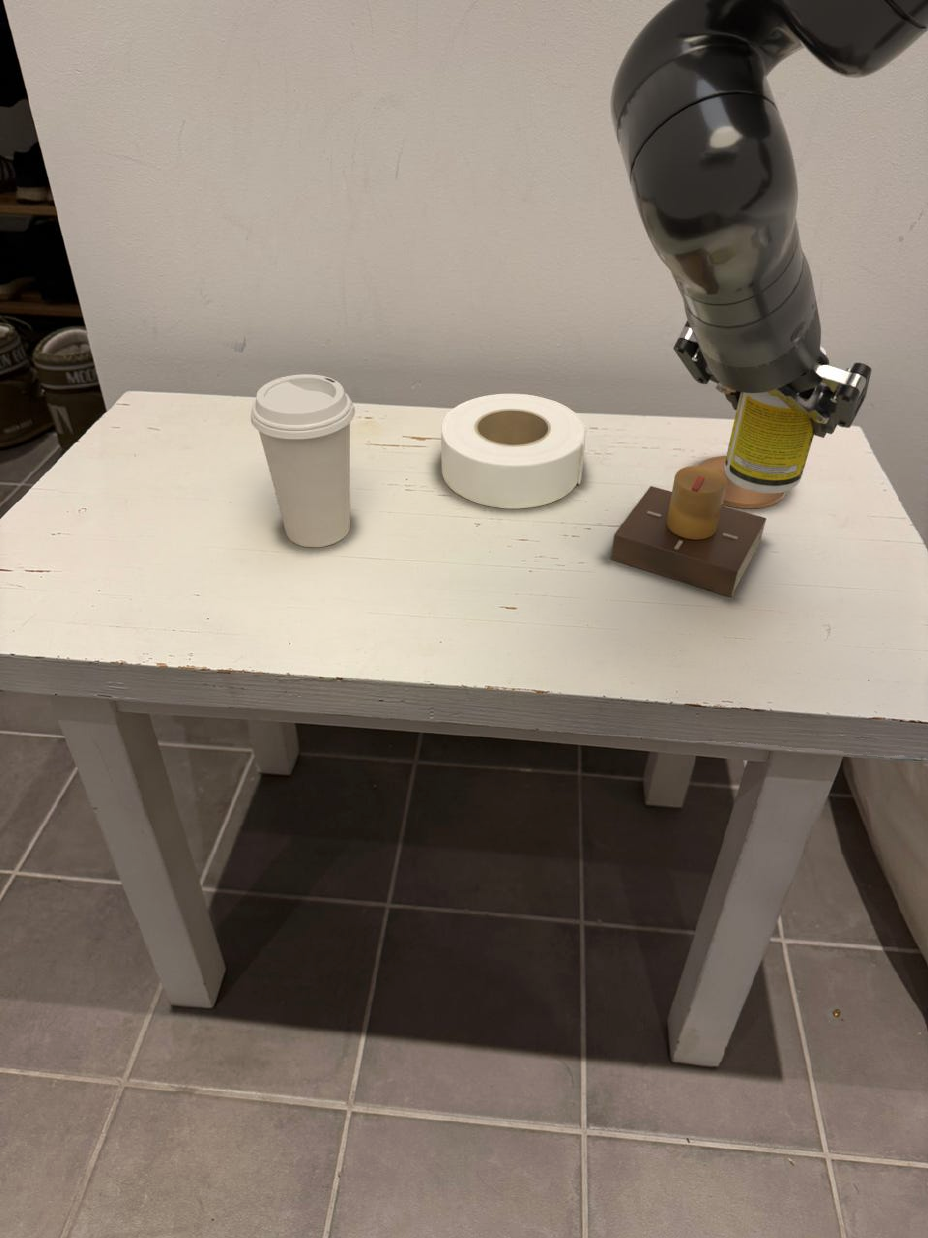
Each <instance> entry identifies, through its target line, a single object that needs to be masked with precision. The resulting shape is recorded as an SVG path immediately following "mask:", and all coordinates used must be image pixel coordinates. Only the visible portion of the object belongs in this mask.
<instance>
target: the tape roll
mask: <svg viewBox="0 0 928 1238" xmlns="http://www.w3.org/2000/svg"><path fill="white" fill-rule="evenodd" d="M440 426H441V427H440V447H441V449H440V450H441V454H440V455H441V458H440V459H441V475H442V477H443V480H444V482H445V483H446V485H447V486H448V487H449V488H450V489H451V490H452V491H453V492H454V493H455V494H457V495H459V496H461V497H462V498H464V499H466V500H468V501H470V502H473V503H476V504H479V505H483V506H486V507H491V508H492V507H493V508H499V509H515V510H516V509H529V508H530V509H531V508H536V507H541V506H546V505H548V504H551V503H554V502H557V501H559V500H560V499H562V498H564V497H566V496H567V495H568V494H570V493H571V492H572V491H573V490H574V488H576V486H577V485H581V482H582V477H583V476H582V475H583V469H584V467H583V466H584V457H585V449H586V448H585V447H586V426H585V424H584V423H583V421H582V419H581V418H580V416H579V414H578V413H576V412H575V411H573V410H572V409H571V408H569V407H568V406H566V405H564V404H562V403H559V402H558V401H555V400H552V399H549V398H546V397H542V396H537V395H533V394H525V393H524V394H523V393H498V394H497V393H495V394H488V395H483V396H479V397H478V396H477V397H475V398H472V399H469V400H466V401H463V402H462V403H460V404H458V405H456V406H455V407H453V408H452V409H450V410H449V411H448V412H447V413H446V414H445V416H444V418H443V420H442V421H441V425H440Z"/></svg>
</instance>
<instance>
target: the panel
mask: <svg viewBox="0 0 928 1238" xmlns="http://www.w3.org/2000/svg"><path fill="white" fill-rule="evenodd" d="M671 494H672V490H671V491H670V490H668V489H664V488H660V487H656V486H653V485H650V486H649V487H648V489H647V490H646V492H644V494H643V495H642V496H641V498H640V499H639V501H638V502H637V503H636V505H635V506H634V507H633V509H632V510H631V511H630V512H629V514H628V515H627V516H626V518H625V519H624V521H623V522H621V525H620V526H619V527H618V528H617V529H616V530H615V531H616V532H614V534H613V540H612V548H611V554H610V555H611V556H610V560H613V561H617V562H618V563H622V564H624V565H629V566H632V567H634V568H638V569H641V570H644V571H648V572H650V573H654V574H657V575H659V576H662V577H663V576H664V577H666V578H668V579H669V578H670V579H672V580H675V581H679V582H682V583H685V584H688V585H691V586H695V587H698V588H701V589H704V590H707V591H711V592H714V593H718V594H720V595H723V596H726V597H729V598H731V597H732V596H733V594H734V593H735V591H736V589H737V587H738V585H739V584H740V581H741V579H742V577H743V575H744V574H745V572H746V570H747V568H748V566H749V564H750V563H751V560H752V558H753V557H754V554H755V553H756V551H757V549H758V547H759V545H760V543H761V540H762V537H763V534H764V529H765V526H766V523H767V522H766V521H767V517H764V516H760V515H757V514H753V513H749V512H746V511H742V510H740V509H735V508H733V507H729V506H726V505H722V509H721V513H720V518H719V522H718V526H717V530H716V532H715V533H714V535H712V536H711V537H708V538H705V539H687V538H683V537H680V536H678V535H676V534H674V533H673V532H672V531H670V530H669V528H668V527H667V523H666V521H667V516H668V510H669V505H670V500H671Z"/></svg>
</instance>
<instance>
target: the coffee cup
mask: <svg viewBox="0 0 928 1238" xmlns="http://www.w3.org/2000/svg"><path fill="white" fill-rule="evenodd" d="M355 413H356V410H355V405H354V403H353V401H352V398H351V397H350V396H349V395H348V393H346V391H345V389H344V387H343V385H342V384H341V383H340V382H339V381H338V380H336V379H334V378H332V377H330V376H329V377H328V376H325V375H320V374H309V373H304V374H301V373H300V374H291V375H286V376H282V377H278V378H276V379H272V380H270V381H269V382H267V383H265V384H264V385H262V386H261V387H260V388H259V389H258V391H257V392H256V396H255V400H254V402H253V404H252V407H251V411H250V423H251V425H252V426H253V427H254V429H256V430H257V431H258V434H259V437H260V441H261V444H262V448H263V451H264V452H263V453H264V456H265V459H266V463H267V466H268V470H269V474H270V478H271V483H272V486H273V489H274V491H275V492H274V493H275V496H276V499H277V504H278V508H279V511H280V516H281V519H282V523H283V527H284V531H285V534H286V537H287V538H288V540H290V541H291V542H292V543H293V544H295V545H297V546H301V547H304V548H323V547H328V546H332V545H334V544H337V543H339V542H340V541H342V540H344V538H346V537H347V535H348V533H349V532H350V528H351V492H350V491H351V423H352V420H353V419H354V417H355Z"/></svg>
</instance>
